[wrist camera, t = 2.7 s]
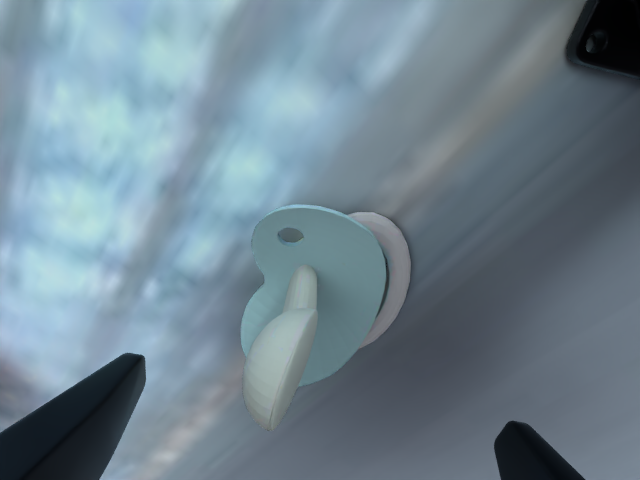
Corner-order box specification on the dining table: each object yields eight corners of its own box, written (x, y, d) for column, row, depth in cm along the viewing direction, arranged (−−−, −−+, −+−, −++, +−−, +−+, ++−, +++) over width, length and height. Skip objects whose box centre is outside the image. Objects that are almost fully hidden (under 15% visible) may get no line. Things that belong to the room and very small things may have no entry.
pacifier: (432, 206, 12) (265, 173, 11) (533, 326, 6) (209, 271, 6) (376, 355, 15) (243, 335, 14) (409, 523, 9) (195, 499, 9)
